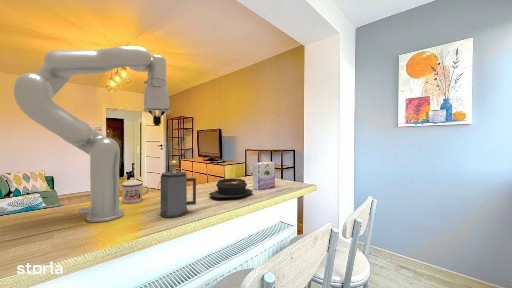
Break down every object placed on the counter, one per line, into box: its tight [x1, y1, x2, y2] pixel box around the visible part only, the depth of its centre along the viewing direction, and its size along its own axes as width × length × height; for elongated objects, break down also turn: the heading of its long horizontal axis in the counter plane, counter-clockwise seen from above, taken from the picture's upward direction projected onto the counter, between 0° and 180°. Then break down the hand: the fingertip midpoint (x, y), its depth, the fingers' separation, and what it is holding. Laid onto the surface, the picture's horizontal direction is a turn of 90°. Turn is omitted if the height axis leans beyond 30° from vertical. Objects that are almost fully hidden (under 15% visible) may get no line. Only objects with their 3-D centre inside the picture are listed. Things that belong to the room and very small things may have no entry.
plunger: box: [169, 160, 180, 174], centre depth 95 cm, size 8×8×20 cm
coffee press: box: [159, 170, 197, 219], centre depth 96 cm, size 14×11×17 cm
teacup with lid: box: [121, 177, 150, 204], centre depth 113 cm, size 12×9×12 cm
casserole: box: [208, 178, 254, 199], centre depth 125 cm, size 25×19×8 cm
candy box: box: [252, 161, 276, 191], centre depth 144 cm, size 14×6×16 cm, turn 128°
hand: (157, 125), depth 102 cm, fingers closed
